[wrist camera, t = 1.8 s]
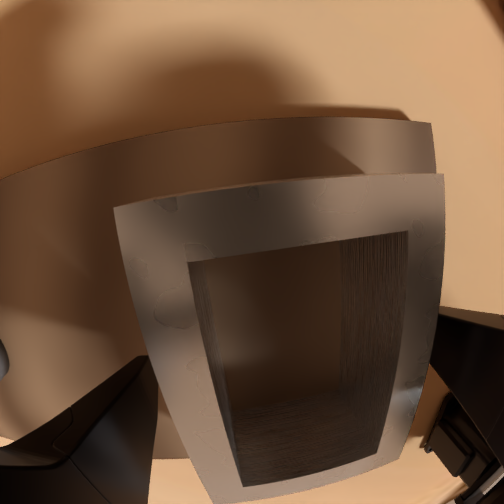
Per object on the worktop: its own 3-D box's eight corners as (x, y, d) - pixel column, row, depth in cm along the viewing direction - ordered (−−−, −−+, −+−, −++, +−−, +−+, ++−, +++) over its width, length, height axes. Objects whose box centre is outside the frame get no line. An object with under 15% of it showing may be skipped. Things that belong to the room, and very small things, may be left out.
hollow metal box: (365, 173, 9) (443, 174, 6) (360, 400, 12) (398, 458, 8) (155, 196, 9) (113, 207, 5) (210, 431, 11) (214, 504, 7)
